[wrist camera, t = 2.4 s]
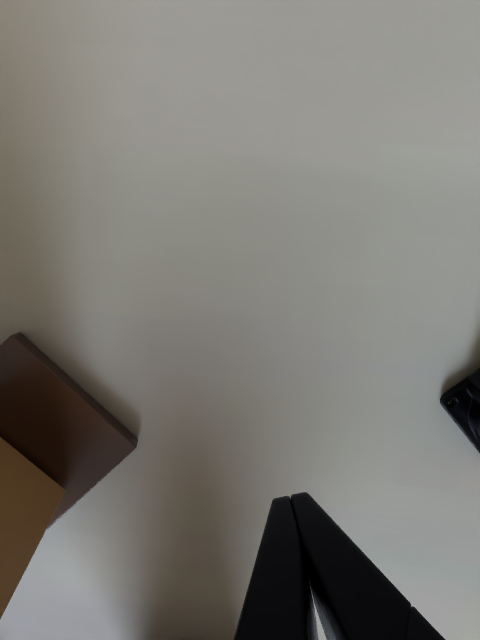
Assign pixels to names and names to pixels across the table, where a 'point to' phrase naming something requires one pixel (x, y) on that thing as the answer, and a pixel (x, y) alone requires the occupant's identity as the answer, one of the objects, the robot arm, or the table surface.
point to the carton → (22, 515)
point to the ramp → (57, 422)
